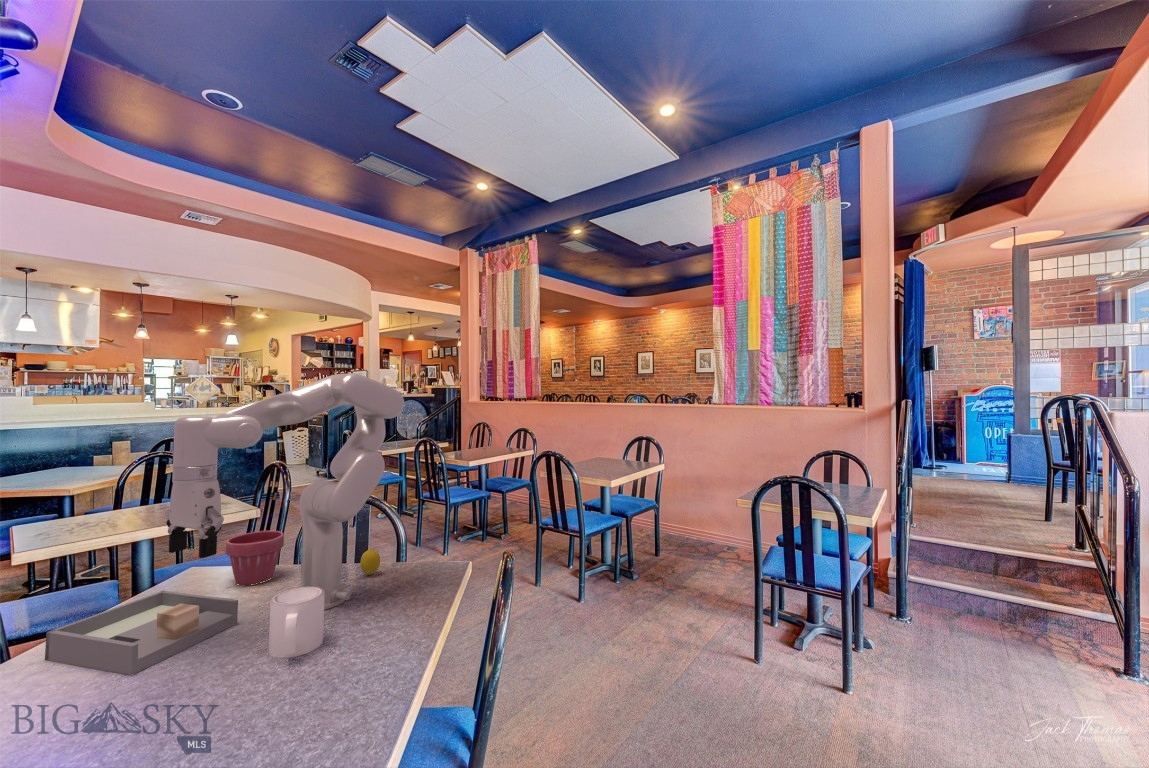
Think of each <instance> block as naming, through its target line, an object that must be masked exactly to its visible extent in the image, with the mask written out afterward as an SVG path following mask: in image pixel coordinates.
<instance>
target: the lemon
mask: <svg viewBox="0 0 1149 768" xmlns="http://www.w3.org/2000/svg"><path fill="white" fill-rule="evenodd" d="M361 555H362V556H361V557H360V562H359V563H360V565H359V566H360V569H361V571H362V572H363V573H365V574H367V575H368V574H371V573H372V574H374V573H375V572H376V571H377V570H378V569H379V567H380V565H381V557H380V553H379V552H378V551H377V550H375V549H372V548H369V549H368V550H366V551H365V552H363V554H361ZM372 574H371V575H372Z"/></svg>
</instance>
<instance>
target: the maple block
mask: <svg viewBox="0 0 1149 768" xmlns="http://www.w3.org/2000/svg"><path fill="white" fill-rule="evenodd" d="M198 626H199V606H197V605H189V604H179V605H176V606H174V607H171V608H169V609H166V610H164V611H161V612H159V613H157V627H156V637H158V638H165V639H171V640H176V639H178V638H180V637H182V636H184V635H186V634H188V633H191V632H193V631H195V630H197V629H198Z"/></svg>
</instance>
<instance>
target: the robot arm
mask: <svg viewBox="0 0 1149 768" xmlns="http://www.w3.org/2000/svg"><path fill="white" fill-rule="evenodd" d="M345 405H346V406H350V405H351V406H353V408H354V411H355V415H356V425H355V429H354V430H353V432H352V433H351V435H350V436H349V437H348V439H347V440H346V442H345V443H344V444H343V445H342V447H340V450H339V451H337V453H336V454H335V456H334V457H333V459H332V461H331V462H330V466H329V471H330V473H331V475H332V477H334V478H335V479H336V480H339V481H331V480H325V479H324V480H316V481H313V482H311V483H310V484H308V485H307V486H306V487H305V488H304V489H303V490H302V493H301V494H300V498H299V514H300V519H301V558H300V561H301V562H300V565H301V566H300V586H299V587H306V586H316V587H321V588H323V589H324V591H325V596H324V611H325V610H328V609H331V608H332V609H333V608H334V607H337V606H340V605H341V604H343V603H344V602H345V601H348V600H350V598H351V595H352V594H353V589H352V588H346V585H345V584H346V583H345V581H342V571H343V569H342V565H343V538H344V537H343V536H344V535H343V534H344V531H343V523H344V522H348V521H350V520H351V519H352V518H354V517H355V516H356V515H357V514H358V513H359V512H360V510H361V509H362V508H363V506H364V505H365V504H366V502H367V501H368V500H369V498H370V496H371V495H372V493H373V492H374V490H375V489H376V487H377V486H378V485H379V483H380V481H381V479H382V477H383V476H384V472H385V468H386V467H385V466H386V464H385V463H386V462H385V460H384V457H383V456H382V455H381V453H380V452H378V451H379V449H380V448H381V446H383V443H384V440H385V438H386V424H385V419H389V420H390V419H394V418H396V417H398V416H400V415H401V413H402V412H403V411H404V409H405V399H404V397H403V395H402V394H401V393H400V391H398V390H397V389H396V388H393V387H390V386H389V385H386V384H383V383H381V382H379V381H377V380H374V379H372V378H369V377H367V376H365V375H362V374H359V373H353V372H351V373H349V372H348V373H335V374H332V375H328V376H326V377H323V378H320V379H318V380H315V381H313V382H310V383H307V384H305V385H301V386H300V387H297V388H293V389H291V390H289V391H286V392H282V393H278V394H275V395H273V396H270V397H268V398H265V399H261V400H258V401H255V402H252V403H248V404H245V405H243V406H240V407H237V408H234V409H232V410H230V411H227V412H224V413H221V414H219V415H217V416H215V417H213V416H183V417H179V418H178V419H176V420H175V422H174V427H173V451H172V452H173V453H172V475H171V476H172V478H171V480H172V481H171V482H172V486H171V493H170V498H169V499H170V500H169V509H167V510H165V512H164V515H165V519H166V525H167V528H168V529H167V533H168V534H169V535H168V553H170V554H173V553H174V554H175V553H176V552H181V551H185V550H187V547H188V530H186V529H191V530H198V532H199V535H200V538H199V539H198V540H199V541H198V559H204V558H208V557H211V556H215V555H216V554H217V546H218V537H219V536H220V531H221V530H222V526H223V523H224V520H225V518H224V516H223V515H222V501H221V499H222V498H221V489H220V483H219V480H218V479H217V478H218V476H217V475H218V455H219V453H218V452H219V448H224V449H225V448H229V449H245V448H249V447H251V446H253V445H256V444H257V443H259V441H260V440H261V439H262V437H263V434H264V431H265V430H268V429H272V428H276V427H282V426H290V425H297V424H300V423H303V422H307V421H309V420H311V419H313V418H315V417H318V416H320V415H322V414H324V413H326V412H328V411H331V410H334V409H336V408H338V407H340V406H345ZM207 528H208V529H207ZM206 529H207V530H206Z"/></svg>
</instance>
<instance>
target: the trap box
mask: <svg viewBox="0 0 1149 768" xmlns="http://www.w3.org/2000/svg"><path fill="white" fill-rule="evenodd" d="M179 604H189V605H197V606H199V626H198V629H197V630H195V631H193V632H191V633H188V634H186V635H184V636H182V637H180V638H178V639H176V640H171V639H165V638H158V637H156V627H157V613H159V612H161V611H164V610H166V609H169V608H171V607H174V606H176V605H179ZM238 609H239V600H238V599H234V598H226V597H217V596H210V595H209V596H208V595H202V594H193V593H185V592H179V591H170V590H161V591H158V592H155V593H153V594H149V595H147V596H144V597H141V598H139V599H136V600H133V601H130V602H128V603H124V604H122V605H119V606H115V607H113V608H111V609H108V610H104V611H102V612H99V613H97V614H93V615H91V616H88V617H84V618H82V619H80V620H77V621H74V622H71V623H68V624H66V625H62V626H60V627H57V628H54V629H51V630H49V631H47V632H46V634H45V635H46V636H45V648H44V649H45V651H44V661H48V662H55V663H60V664H66V665H71V666H76V667H82V668H88V669H92V670H99V671H103V672H109V673H115V674H120V673H121V674H120V675H125V674H128V675H127V676H133V675H135V674H138V673H139V672H141V670H142V671H144V670H145V668H146V669H147V668H149V667H152V666H153V665H156V664H157V663H160V662H162V661H164V660H167V659H168V658H169V657H172V656H174V655H176V654H178V653H180V652H182V651H184V650H186V649H188V648H190V647H192V646H195V645H197V644H198V643H202V641H204V640H207V639H208V638H210V637H213V636H215V635H217V634H219V633H221V632H223V631H225V630H227V629H229V628H232V627H234V626H235V625H238V614H239V613H238V612H239V610H238ZM143 669H144V670H143ZM132 674H133V675H132Z"/></svg>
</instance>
